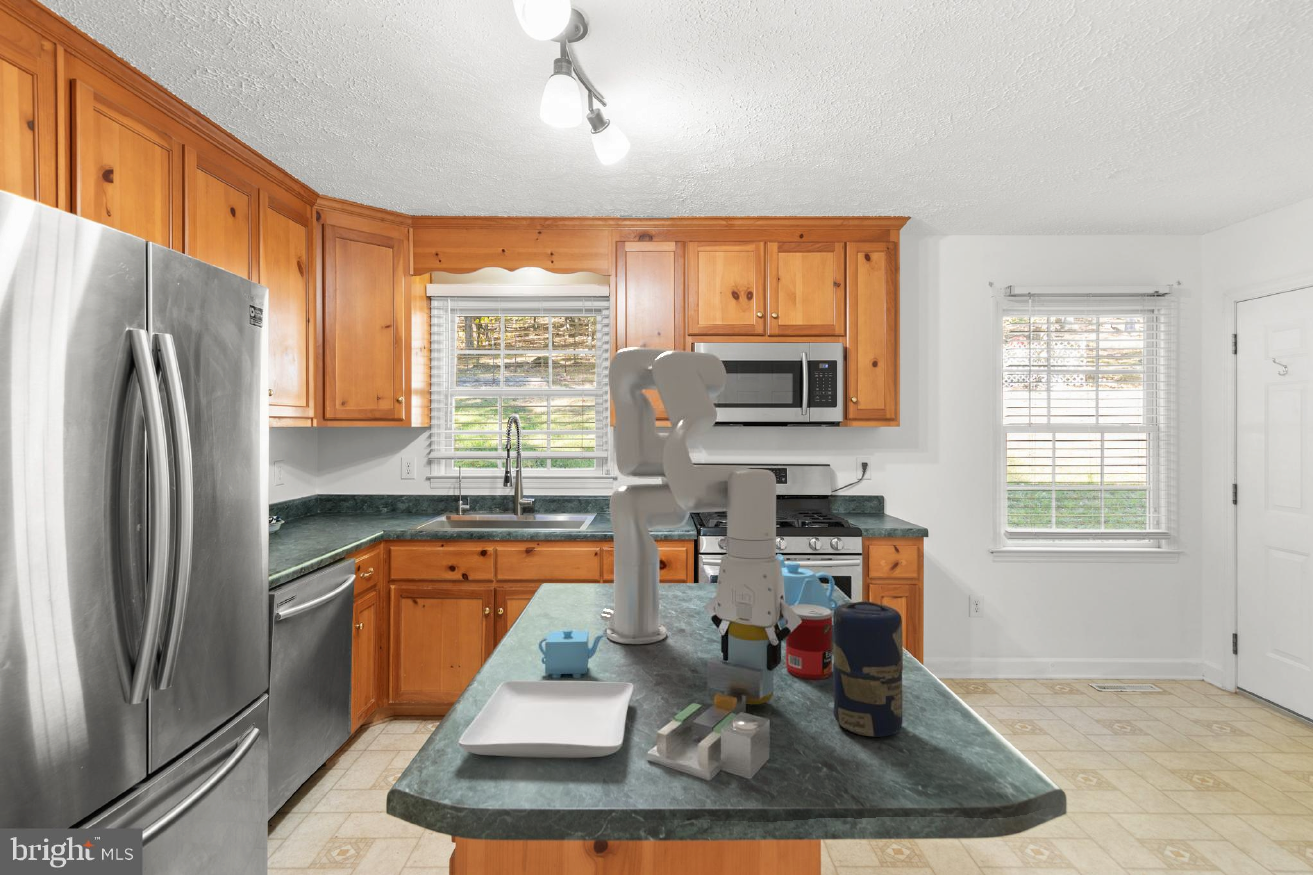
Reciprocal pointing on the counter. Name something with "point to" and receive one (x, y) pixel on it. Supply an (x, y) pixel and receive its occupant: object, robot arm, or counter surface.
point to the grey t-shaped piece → (728, 693)
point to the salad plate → (551, 720)
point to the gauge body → (713, 745)
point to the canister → (867, 668)
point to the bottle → (750, 649)
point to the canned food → (810, 643)
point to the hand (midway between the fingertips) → (750, 662)
